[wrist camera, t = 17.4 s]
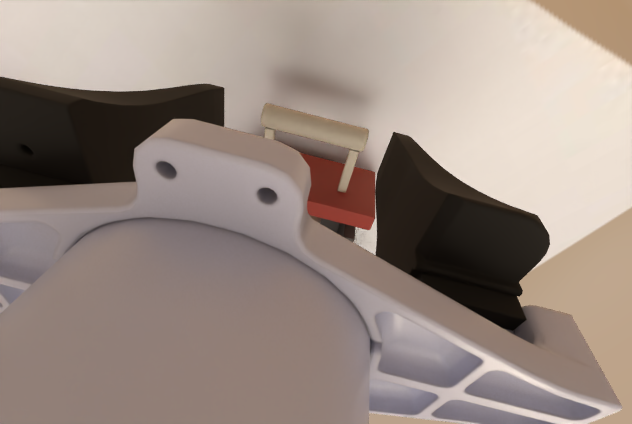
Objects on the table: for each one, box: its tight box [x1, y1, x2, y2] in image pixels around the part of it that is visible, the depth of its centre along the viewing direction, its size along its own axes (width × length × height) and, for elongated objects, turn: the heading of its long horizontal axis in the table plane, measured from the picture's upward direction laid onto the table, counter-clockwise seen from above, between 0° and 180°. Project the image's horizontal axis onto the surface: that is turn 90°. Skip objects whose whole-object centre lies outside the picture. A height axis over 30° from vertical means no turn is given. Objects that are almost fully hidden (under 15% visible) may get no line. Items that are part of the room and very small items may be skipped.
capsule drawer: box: [261, 103, 375, 242], centre depth 24 cm, size 16×10×6 cm, turn 168°
